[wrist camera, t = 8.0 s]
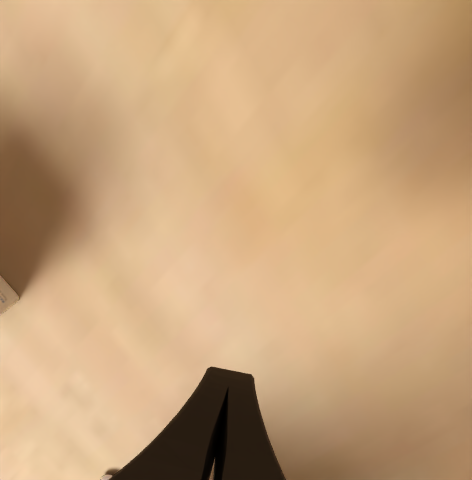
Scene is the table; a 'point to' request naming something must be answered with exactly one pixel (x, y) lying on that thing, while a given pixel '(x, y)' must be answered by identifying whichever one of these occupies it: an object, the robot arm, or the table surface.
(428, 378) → the table surface
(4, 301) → the light bulb box
